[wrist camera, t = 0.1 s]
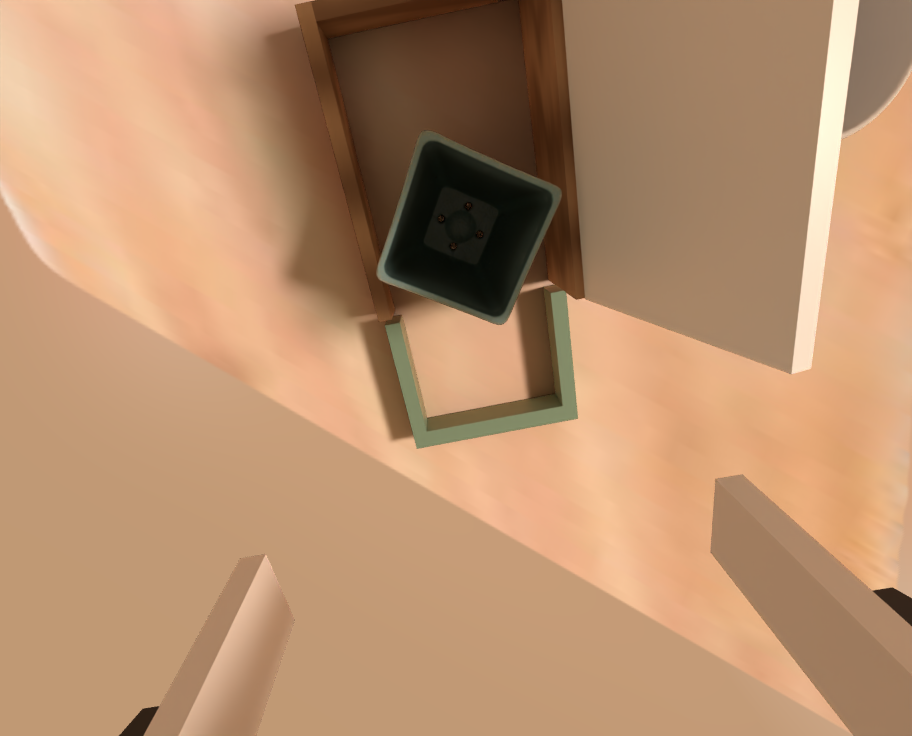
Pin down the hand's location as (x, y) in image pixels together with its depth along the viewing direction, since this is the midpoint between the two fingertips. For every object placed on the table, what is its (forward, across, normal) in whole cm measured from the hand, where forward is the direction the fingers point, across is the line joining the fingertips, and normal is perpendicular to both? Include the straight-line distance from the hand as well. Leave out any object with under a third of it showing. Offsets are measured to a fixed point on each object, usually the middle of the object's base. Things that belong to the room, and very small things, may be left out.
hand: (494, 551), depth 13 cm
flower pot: (+26, +2, +8) cm, 27 cm away
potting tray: (+26, +2, -4) cm, 26 cm away
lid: (+18, +8, +12) cm, 23 cm away
